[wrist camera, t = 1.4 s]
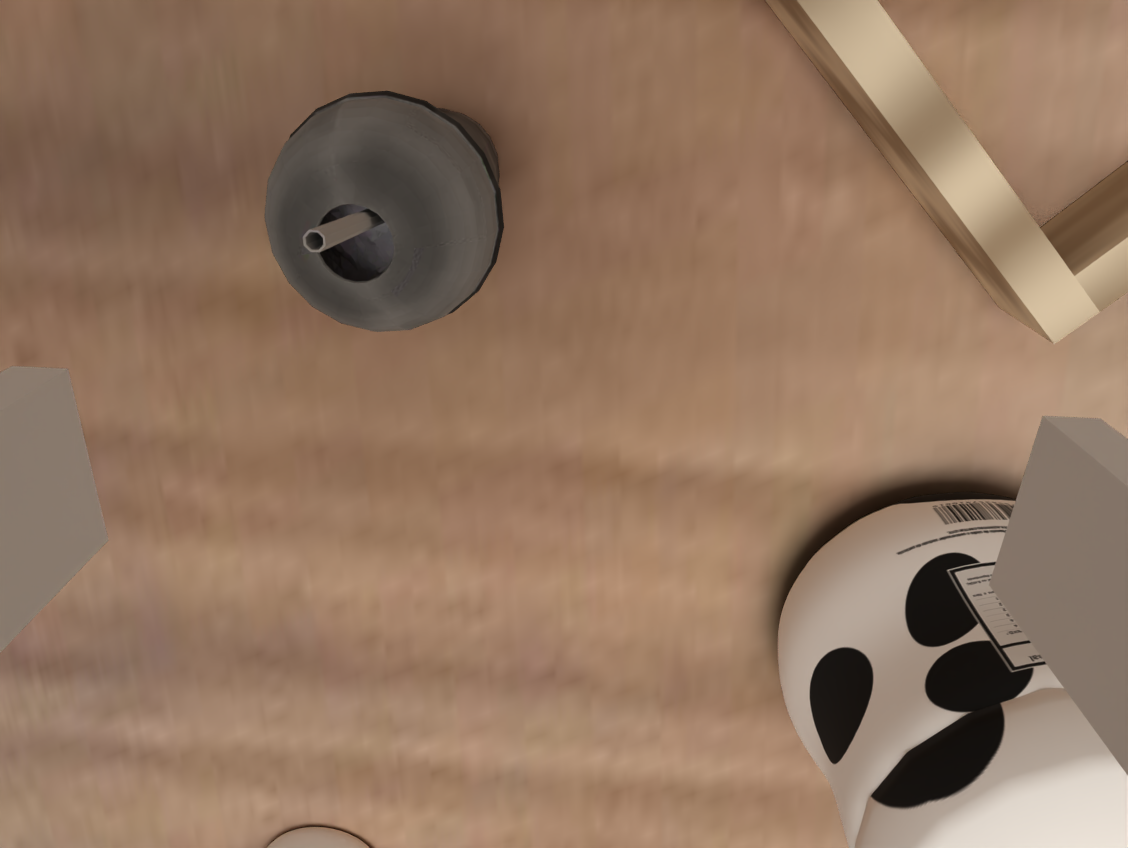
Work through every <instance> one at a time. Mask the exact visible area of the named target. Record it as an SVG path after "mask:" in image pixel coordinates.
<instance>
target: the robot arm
mask: <svg viewBox="0 0 1128 848" xmlns="http://www.w3.org/2000/svg"><path fill="white" fill-rule="evenodd" d="M107 541H108V536H107V532H106V528H105V523H104V519H103V515H102V511H101V507H100V502H99V498H98V494H97V490H96V485H95V481H94V477H93V473H92V468H91V464H90V460H89V456H88V451H87V447H86V443H85V439H84V434H83V430H82V426H81V422H80V417H79V413H78V409H77V405H76V400H75V396H74V392H73V388H72V383H71V379H70V375H69V371H68V369H65V368H44V367H23V366H11V367H9V368H7V369H6V370H4V371H2V372H0V652H1V651H2V650H3V649H4V648H5V647H6V646H7V645H8V644H9V643H10V642H11V641H12V640H13V639H14V638H15V637H16V636H17V635H18V634H19V633H20V632H21V631H22V630H23V629H24V627H25V626H26V625H27V624H28V623H29V622H30V621H31V620H32V619H33V618H34V617H35V616H36V615H37V614H38V613H39V612H40V611H41V610H42V609H43V608H44V607H45V606H46V605H47V604H48V603H49V602H50V601H51V599H52V598H53V597H54V596H55V595H56V594H57V593H58V592H59V591H60V590H61V589H62V588H63V587H64V586H65V585H66V584H67V583H68V582H69V581H70V580H71V579H72V578H73V577H74V576H75V575H76V574H77V572H78V571H79V570H80V569H81V568H82V567H83V566H84V565H85V564H86V563H87V562H88V561H89V560H90V559H91V558H92V557H93V556H94V555H95V554H96V553H97V552H98V551H99V550H100V549H101V548H102V547H103V546H104V544H105V543H106V542H107ZM989 586H990V587H991V589H992V590H993V591H994V593H995V594H996V595H997V597H998V598H999V600H1000V601H1001V602H1002V604H1003V605H1004V606H1005V608H1006V609H1007V610H1008V612H1009V613H1010V615H1011V616H1012V617H1013V619H1014V620H1015V621H1016V623H1017V624H1018V626H1019V627H1020V628H1021V630H1022V631H1023V632H1024V634H1025V635H1026V637H1027V638H1028V639H1029V641H1030V642H1031V643H1032V645H1033V646H1034V648H1035V649H1036V650H1037V652H1038V653H1039V654H1040V656H1041V657H1042V659H1043V660H1044V661H1045V663H1046V664H1047V665H1048V667H1049V668H1050V670H1051V671H1052V672H1053V674H1054V675H1055V676H1056V678H1057V679H1058V681H1059V682H1060V683H1061V685H1062V686H1063V687H1064V689H1065V690H1066V692H1067V693H1068V694H1069V696H1070V697H1071V698H1072V700H1073V701H1074V703H1075V704H1076V705H1077V707H1078V708H1079V709H1080V711H1081V712H1082V714H1083V715H1084V716H1085V718H1086V719H1087V720H1088V722H1089V723H1090V725H1091V726H1092V727H1093V729H1094V730H1095V731H1096V733H1097V734H1098V735H1099V737H1100V738H1101V740H1102V741H1103V742H1104V744H1105V745H1106V746H1107V748H1108V749H1109V751H1110V752H1111V753H1112V755H1113V756H1114V757H1115V759H1116V760H1117V762H1118V763H1119V764H1120V766H1121V767H1122V768H1123V770H1124V771H1125V773H1126V774H1127V775H1128V439H1127V438H1126V437H1124V436H1123V435H1122V434H1120V433H1119V432H1118V431H1116V430H1115V429H1114V428H1112V427H1111V426H1110V425H1108V424H1107V423H1106V422H1104V421H1103V420H1102V419H1099V418H1078V417H1058V416H1043V417H1042V420H1041V423H1040V426H1039V429H1038V432H1037V435H1036V439H1035V442H1034V445H1033V448H1032V451H1031V454H1030V457H1029V461H1028V464H1027V467H1026V470H1025V473H1024V476H1023V479H1022V482H1021V486H1020V489H1019V492H1018V495H1017V498H1016V501H1015V504H1014V508H1013V511H1012V514H1011V517H1010V520H1009V523H1008V526H1007V530H1006V533H1005V536H1004V539H1003V542H1002V545H1001V548H1000V551H999V555H998V558H997V561H996V564H995V567H994V570H993V573H992V577H991V580H990V583H989Z"/></svg>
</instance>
